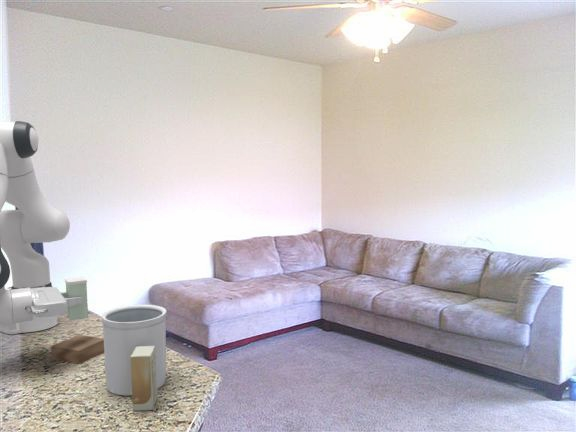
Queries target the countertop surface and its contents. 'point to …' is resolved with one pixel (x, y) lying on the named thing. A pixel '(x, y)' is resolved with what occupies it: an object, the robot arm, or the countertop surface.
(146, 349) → the skincare box
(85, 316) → the canister
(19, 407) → the countertop surface
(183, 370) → the countertop surface
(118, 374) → the utensil holder
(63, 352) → the walnut block
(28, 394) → the countertop surface
